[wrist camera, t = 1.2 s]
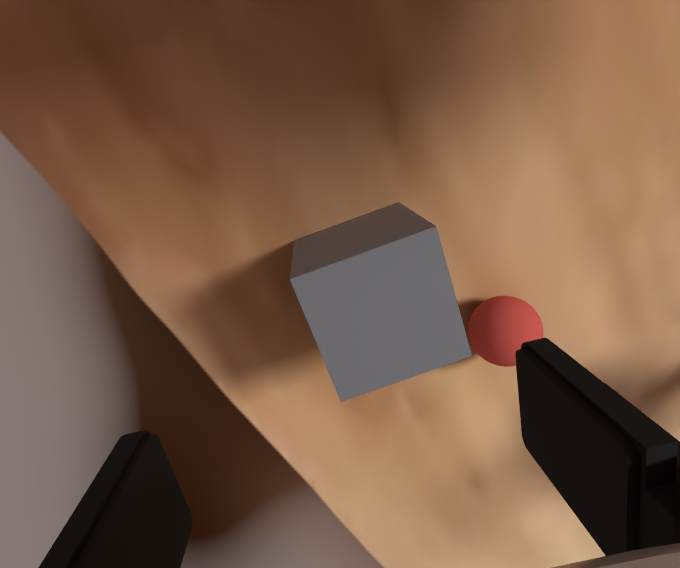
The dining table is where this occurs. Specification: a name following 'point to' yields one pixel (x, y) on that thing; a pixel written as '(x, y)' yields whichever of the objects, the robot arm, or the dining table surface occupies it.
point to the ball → (503, 328)
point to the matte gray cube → (378, 299)
